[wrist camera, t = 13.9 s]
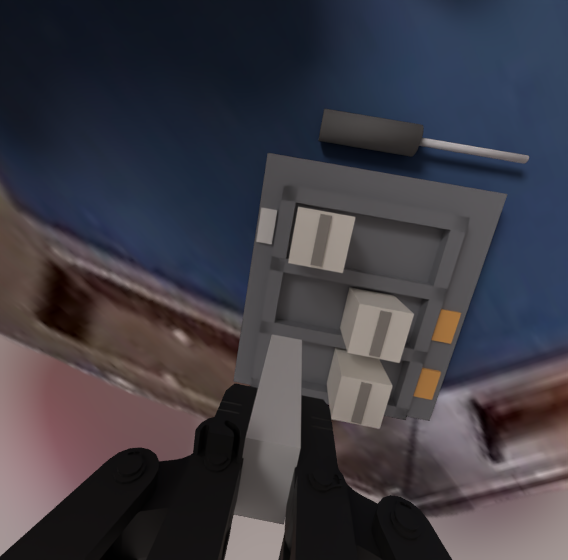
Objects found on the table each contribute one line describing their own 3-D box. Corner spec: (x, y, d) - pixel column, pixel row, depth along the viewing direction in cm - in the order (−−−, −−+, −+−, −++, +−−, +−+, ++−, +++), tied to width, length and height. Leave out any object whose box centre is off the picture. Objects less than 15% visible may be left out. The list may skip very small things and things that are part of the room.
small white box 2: (326, 383, 28) (330, 420, 23) (335, 346, 27) (341, 376, 22) (367, 391, 28) (380, 430, 23) (377, 355, 27) (393, 386, 22)
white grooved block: (340, 327, 27) (347, 353, 22) (349, 286, 26) (360, 304, 21) (382, 335, 27) (400, 363, 22) (393, 295, 26) (414, 314, 21)
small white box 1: (291, 253, 26) (288, 263, 21) (299, 208, 25) (298, 206, 20) (335, 261, 25) (342, 273, 20) (345, 216, 24) (355, 217, 19)
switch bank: (238, 370, 31) (230, 388, 28) (270, 157, 26) (265, 149, 23) (421, 407, 30) (434, 429, 27) (491, 195, 25) (517, 193, 22)
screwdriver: (317, 143, 25) (319, 136, 23) (323, 114, 25) (325, 103, 23) (510, 176, 25) (531, 172, 23) (520, 147, 24) (543, 140, 22)
